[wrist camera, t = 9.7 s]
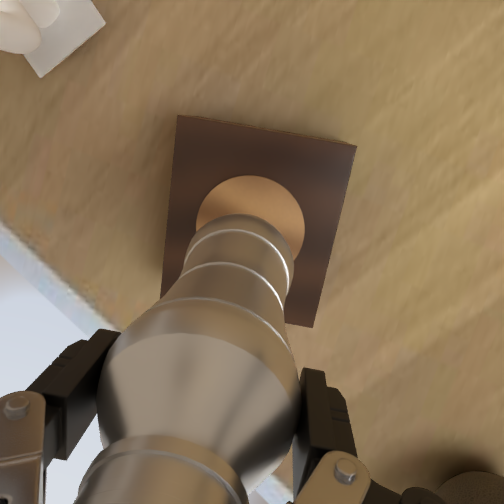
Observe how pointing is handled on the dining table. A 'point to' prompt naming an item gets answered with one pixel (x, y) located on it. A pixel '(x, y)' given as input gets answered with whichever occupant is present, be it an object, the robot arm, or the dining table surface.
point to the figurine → (47, 29)
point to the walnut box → (259, 196)
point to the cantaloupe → (473, 489)
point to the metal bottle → (202, 378)
